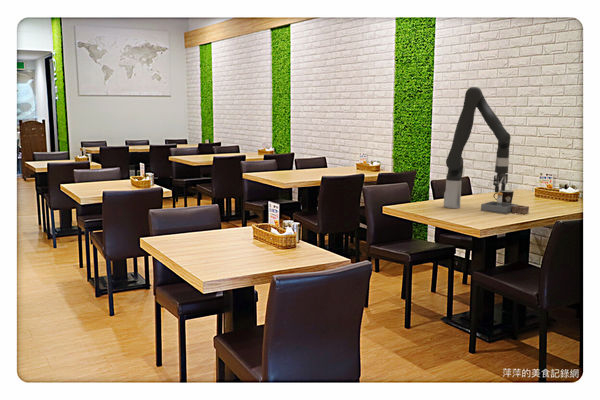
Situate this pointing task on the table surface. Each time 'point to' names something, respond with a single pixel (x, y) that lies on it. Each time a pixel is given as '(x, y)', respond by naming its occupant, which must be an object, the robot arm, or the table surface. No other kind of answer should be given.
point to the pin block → (520, 209)
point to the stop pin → (499, 199)
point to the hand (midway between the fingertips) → (499, 191)
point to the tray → (497, 207)
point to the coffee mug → (506, 196)
